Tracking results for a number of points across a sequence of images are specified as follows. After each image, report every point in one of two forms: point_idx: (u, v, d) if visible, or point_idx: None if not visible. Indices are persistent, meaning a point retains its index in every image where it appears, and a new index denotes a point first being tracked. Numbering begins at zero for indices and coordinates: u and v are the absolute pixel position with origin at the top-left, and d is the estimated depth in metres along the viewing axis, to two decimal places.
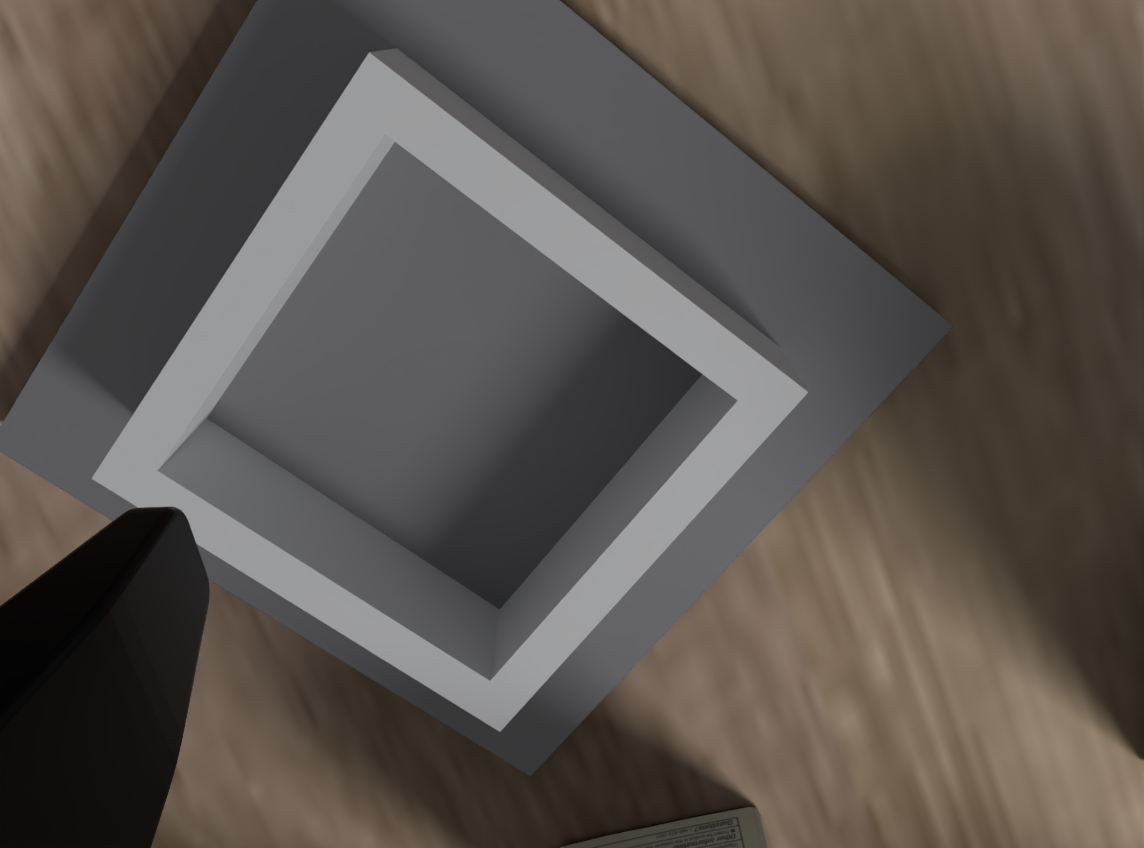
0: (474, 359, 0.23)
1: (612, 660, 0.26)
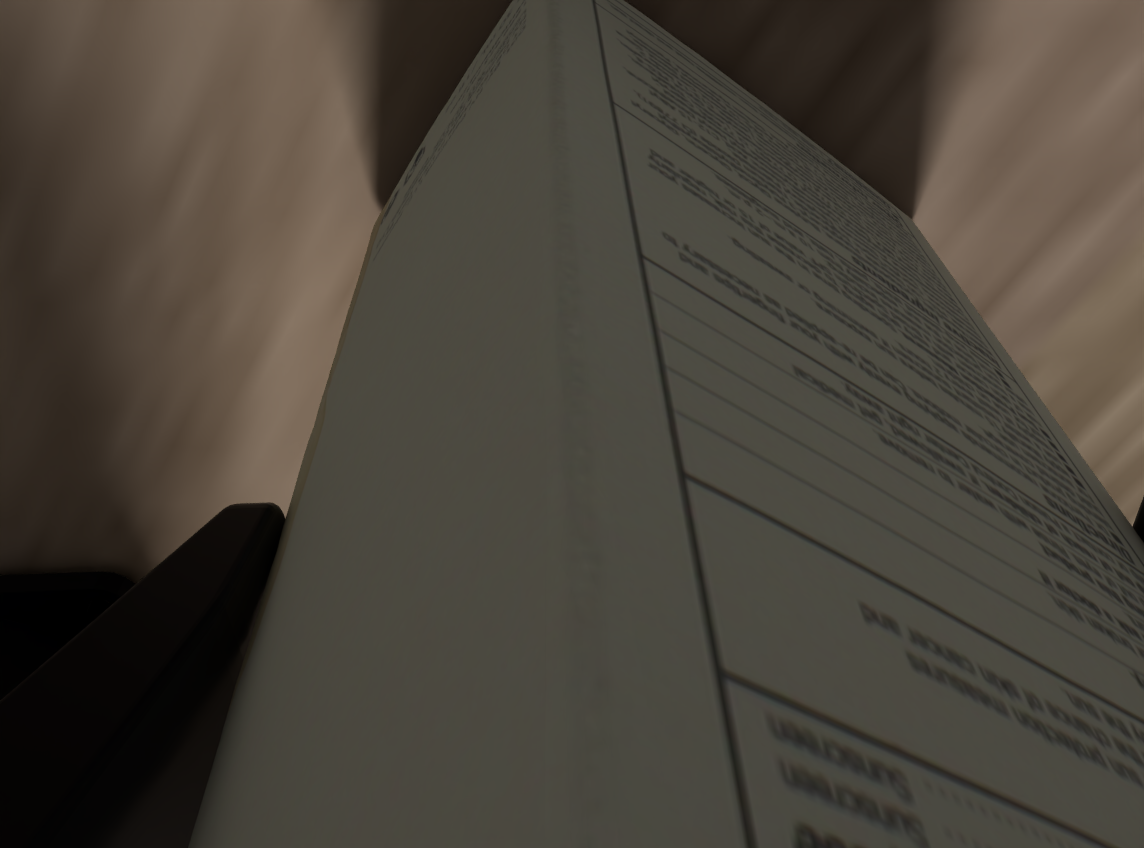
0: None
1: None
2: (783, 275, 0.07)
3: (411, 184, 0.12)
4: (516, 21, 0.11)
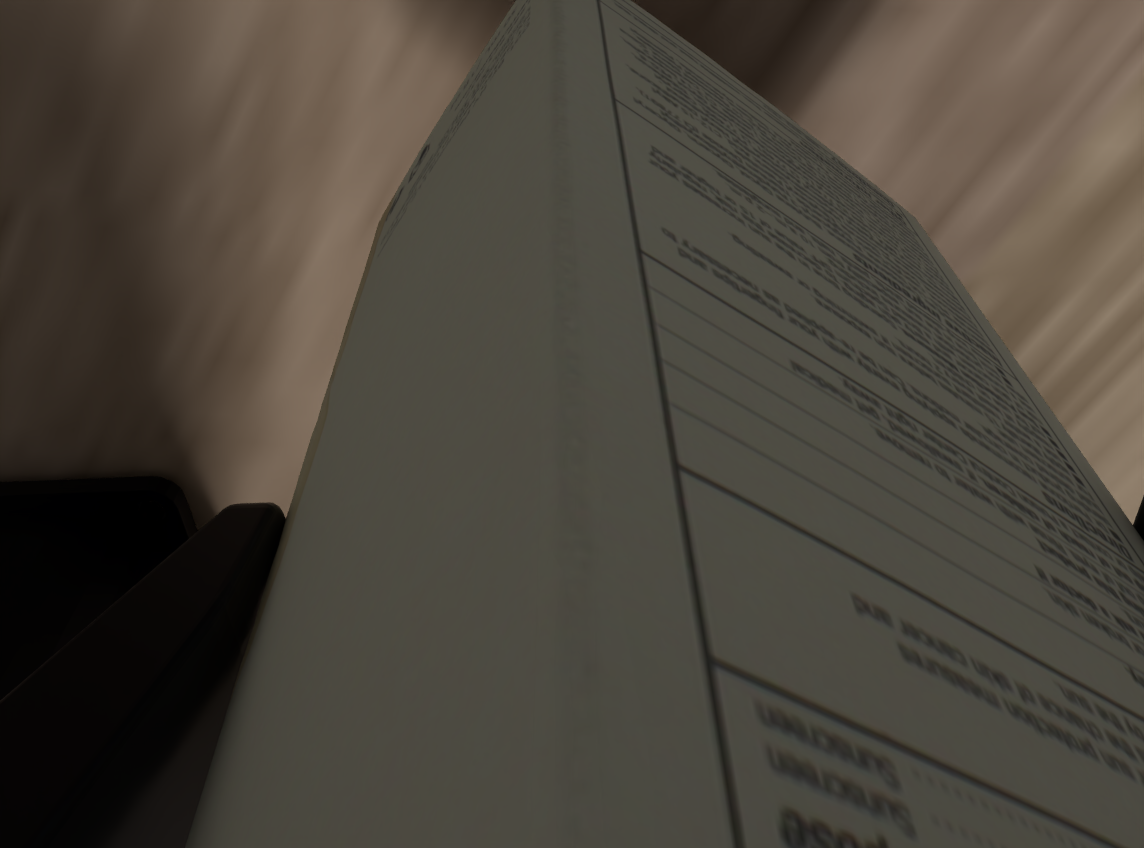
0: None
1: None
2: (783, 272, 0.07)
3: (415, 181, 0.12)
4: (520, 18, 0.11)
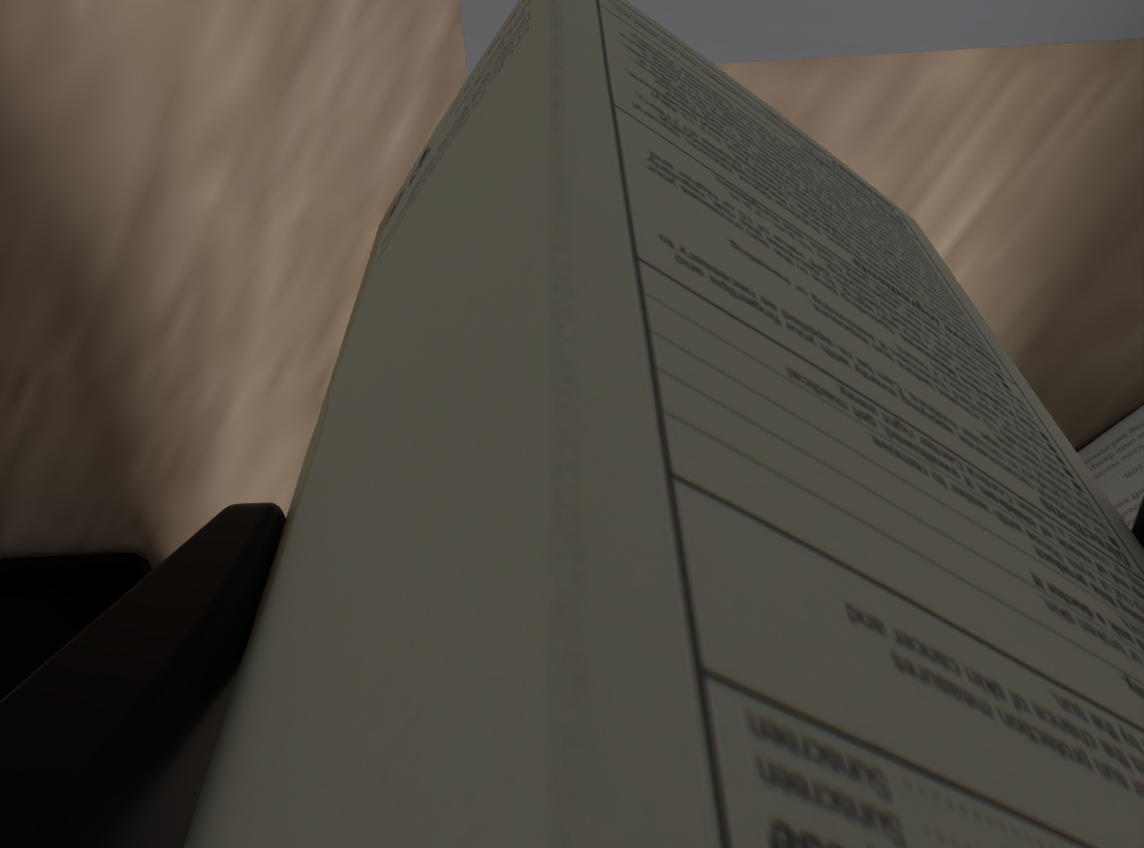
0: None
1: (704, 33, 0.18)
2: (780, 279, 0.07)
3: (415, 184, 0.12)
4: (520, 22, 0.11)
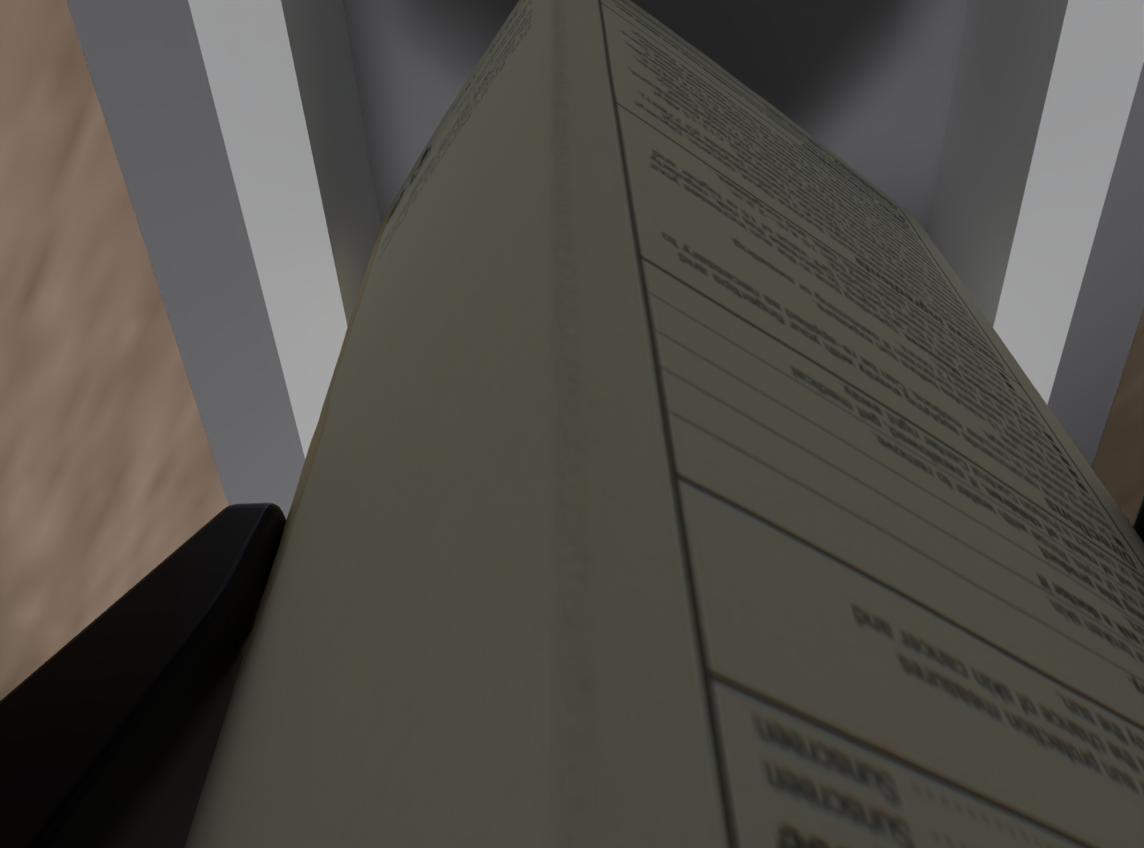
0: None
1: None
2: (784, 277, 0.07)
3: (416, 183, 0.12)
4: (522, 21, 0.11)
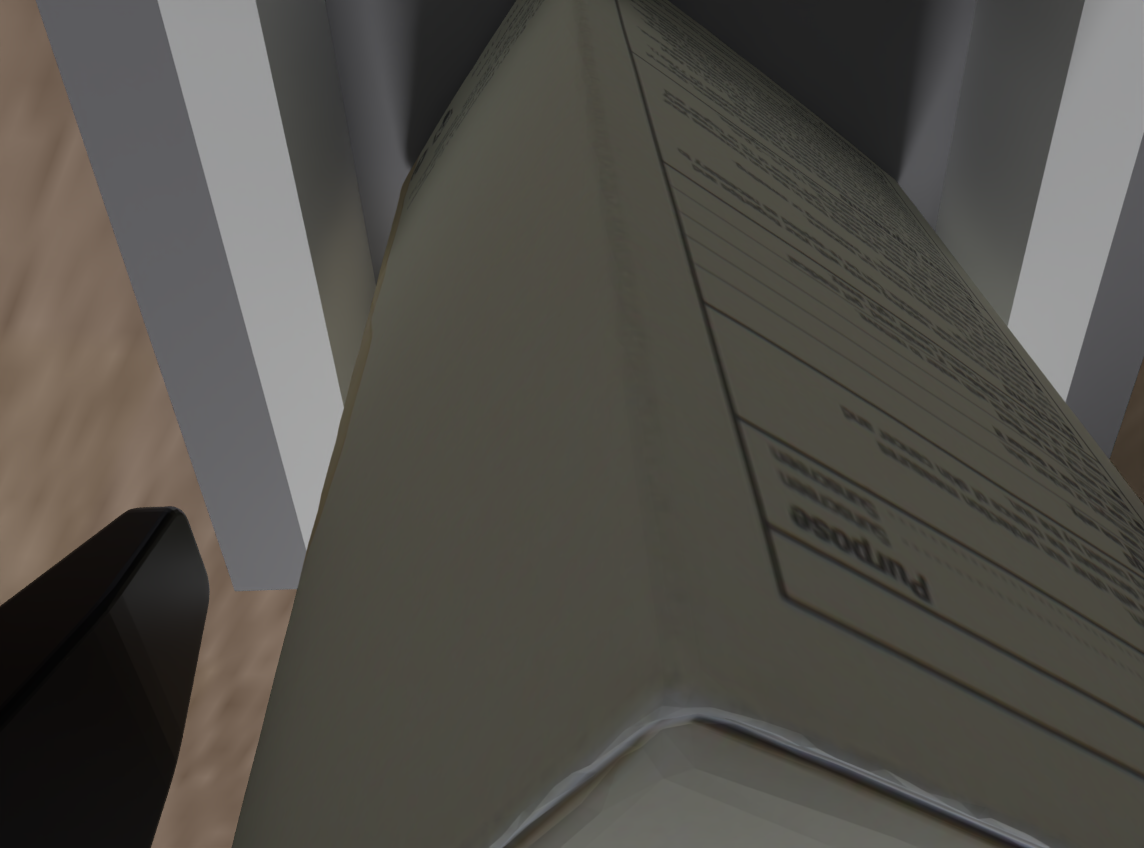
0: None
1: None
2: (779, 195, 0.08)
3: (441, 140, 0.13)
4: None
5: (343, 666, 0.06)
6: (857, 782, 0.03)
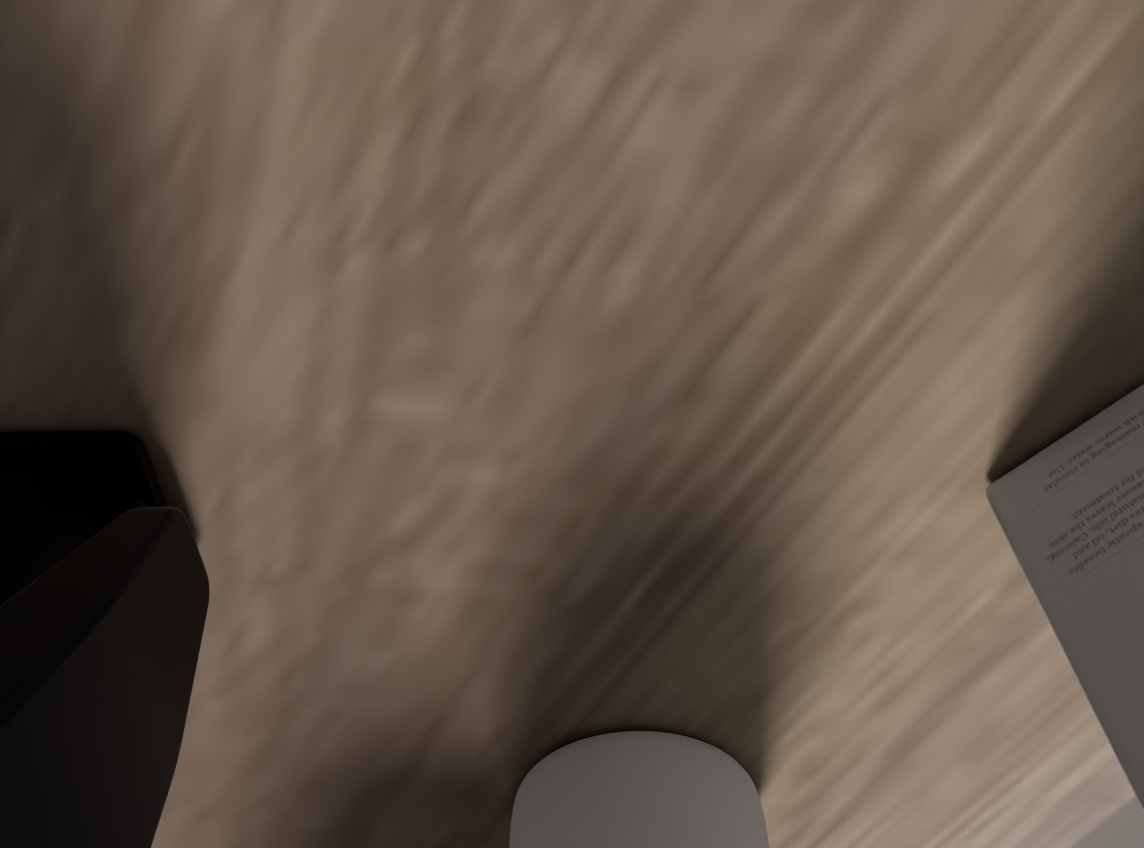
0: None
1: None
2: None
3: None
4: None
5: None
6: None
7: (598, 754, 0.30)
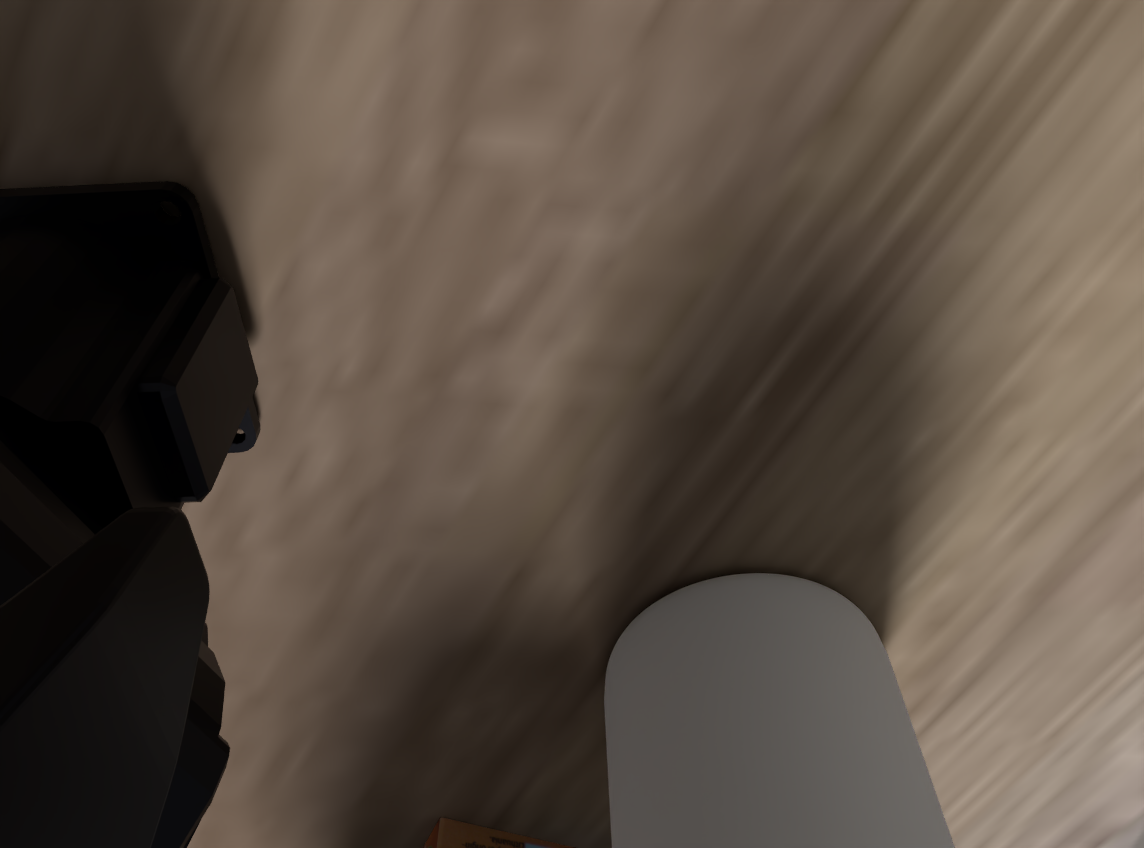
0: None
1: None
2: None
3: None
4: None
5: None
6: None
7: (708, 597, 0.26)
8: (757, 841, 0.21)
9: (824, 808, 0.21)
